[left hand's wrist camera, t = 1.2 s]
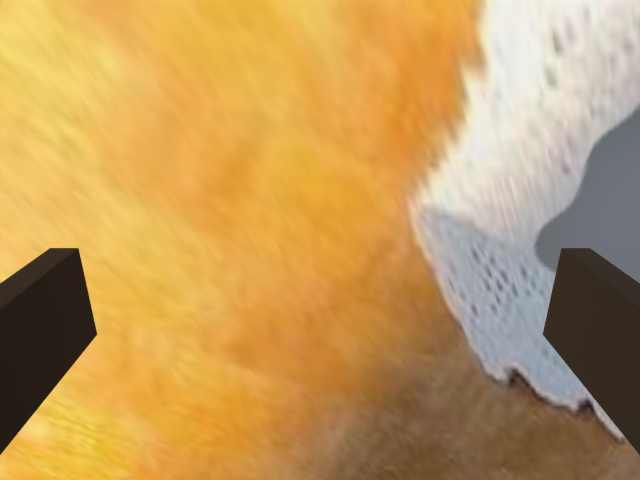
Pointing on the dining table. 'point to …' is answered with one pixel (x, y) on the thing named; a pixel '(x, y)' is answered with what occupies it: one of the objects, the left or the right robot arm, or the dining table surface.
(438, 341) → the dining table surface
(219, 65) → the dining table surface
